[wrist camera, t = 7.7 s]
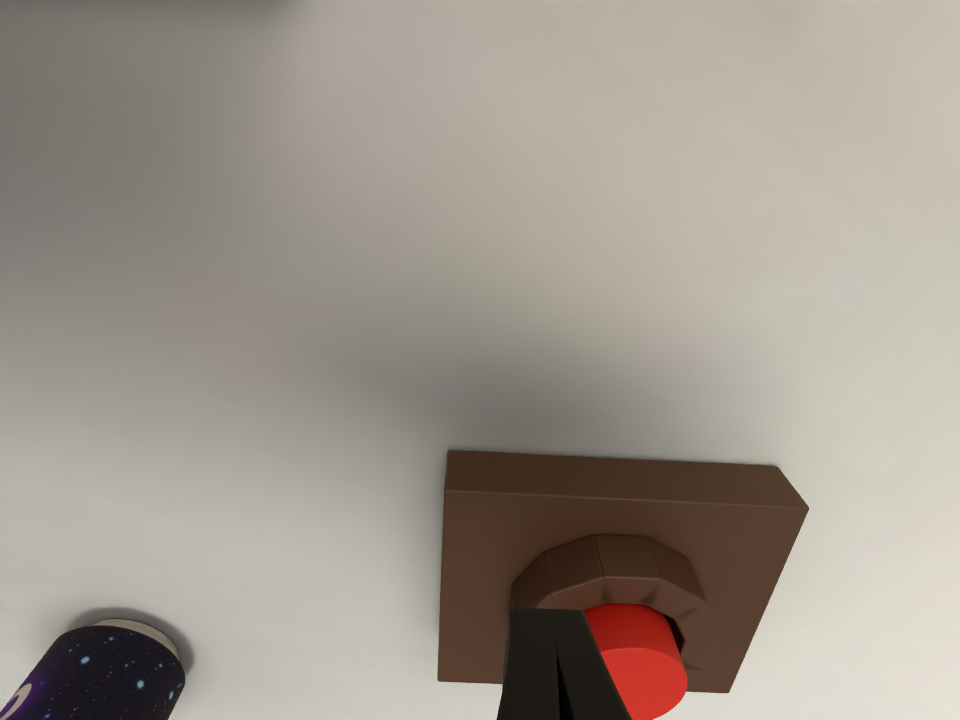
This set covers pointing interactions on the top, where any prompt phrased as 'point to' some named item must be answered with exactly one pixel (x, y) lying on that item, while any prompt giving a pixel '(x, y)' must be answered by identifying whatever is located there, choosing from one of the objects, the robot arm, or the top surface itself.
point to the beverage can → (102, 676)
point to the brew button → (639, 657)
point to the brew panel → (611, 552)
